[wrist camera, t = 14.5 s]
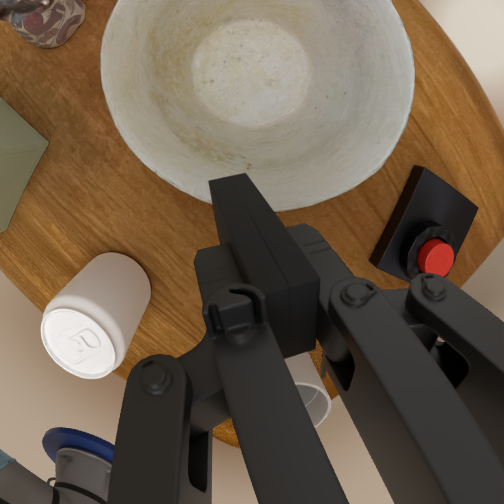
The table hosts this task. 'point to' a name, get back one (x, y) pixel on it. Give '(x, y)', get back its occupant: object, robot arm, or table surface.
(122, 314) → the beverage can
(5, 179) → the chest
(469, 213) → the button base
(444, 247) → the button
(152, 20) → the bowl
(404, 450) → the robot arm
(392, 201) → the table surface
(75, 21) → the figurine
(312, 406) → the cup
